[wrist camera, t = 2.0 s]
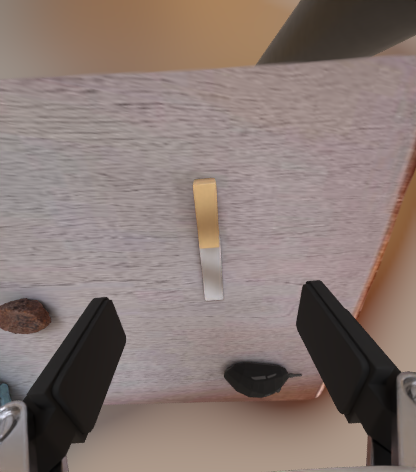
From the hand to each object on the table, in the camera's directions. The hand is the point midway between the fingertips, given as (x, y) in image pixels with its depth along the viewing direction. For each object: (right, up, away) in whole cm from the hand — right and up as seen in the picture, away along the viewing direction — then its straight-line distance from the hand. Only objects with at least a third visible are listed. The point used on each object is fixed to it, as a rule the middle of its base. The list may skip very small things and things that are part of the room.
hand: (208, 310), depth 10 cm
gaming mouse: (+10, -22, +27) cm, 36 cm away
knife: (0, +2, +15) cm, 15 cm away
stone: (-26, -7, +19) cm, 33 cm away
